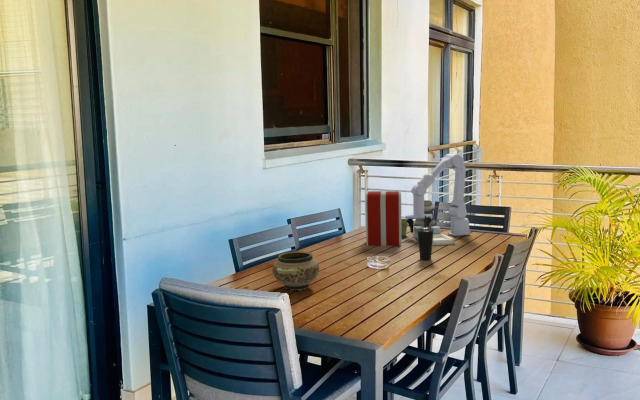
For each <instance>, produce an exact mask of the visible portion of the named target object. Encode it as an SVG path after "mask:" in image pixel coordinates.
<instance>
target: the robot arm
mask: <svg viewBox="0 0 640 400" xmlns="http://www.w3.org/2000/svg"><path fill="white" fill-rule="evenodd" d="M446 168H447V169H448V168H451V169H452V170H453V171H454V182H453V183H454V185H453V196H452V197H453V198H452V201H451V202H450V206H449V208H448V215H449V216H450V232H448V231H447V234H448V235H451V236H455V237H456V236H459V237H460V236H470V220H469V219H468V217H466V216H467V208H466V207H467V206H466V203H465V202H464V197H465V195H464V194H465V185H466V174H467V173H466V172H467V171H466V170H467V167H466V165H465V162H464V157H462V155H460V154H454V153H447V154H445V155H444V156H443V157H442V158H441V159H440V161H439V162H438V164H436V166H435V167H434V168H433V169H432V170H431V172H430V173H426V174H424V175H422V178H421V179H420V180H419V181H417V183H416V184H414V185H413V186H412V188H411V189H410V191H411V193H412V197H413V198H412V203H413V204H412V205H413V212H412V213H413V214H410V215H404V216H405V217H404V219H406V220H407V222H408V224H407V225H408V226H409V230H410V233H412V234H414V226H415V225H414V221H415V220H416V219H424V227H425V216H426V227H428V226H429V224H430V222H431V219H430V218H432V215H431V214H424V200H425V195H426V193H427V190H428V189H429V188H430V187H431V186H432V185H433V184H434V183H435V181H436V179H435V178H437V176H438V175H440V173H442V172H443V171H444V170H445V169H446Z"/></svg>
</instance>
